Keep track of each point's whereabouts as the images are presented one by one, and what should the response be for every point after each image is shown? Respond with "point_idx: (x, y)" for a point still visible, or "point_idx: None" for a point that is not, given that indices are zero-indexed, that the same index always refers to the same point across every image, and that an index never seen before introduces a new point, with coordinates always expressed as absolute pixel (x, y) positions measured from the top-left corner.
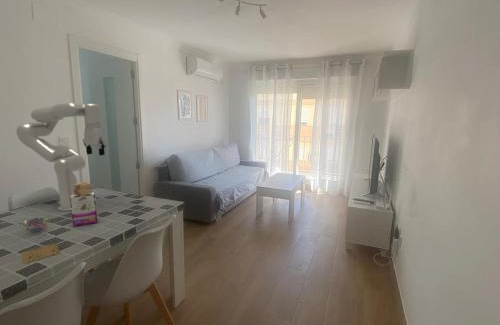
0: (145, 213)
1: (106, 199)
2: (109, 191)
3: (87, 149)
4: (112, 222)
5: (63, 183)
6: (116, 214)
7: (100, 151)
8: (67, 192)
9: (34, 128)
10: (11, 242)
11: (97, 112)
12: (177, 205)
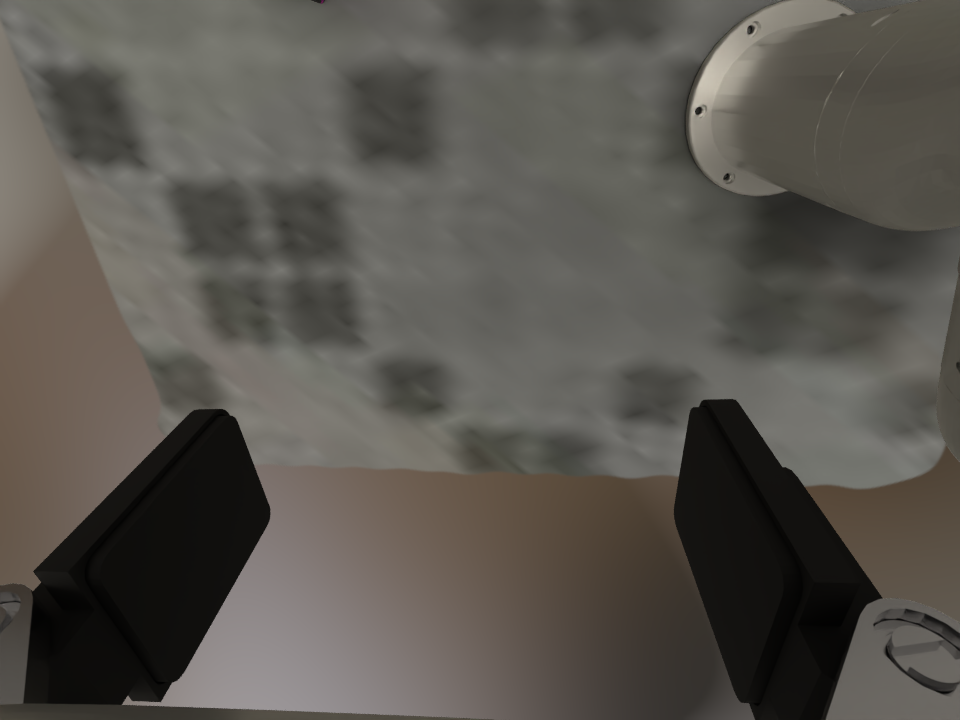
0: (180, 253)
1: (645, 348)
2: None
3: (751, 524)
4: (191, 21)
5: (924, 10)
6: (315, 156)
7: (135, 506)
8: (813, 47)
9: None
10: None
11: None
12: (161, 421)
